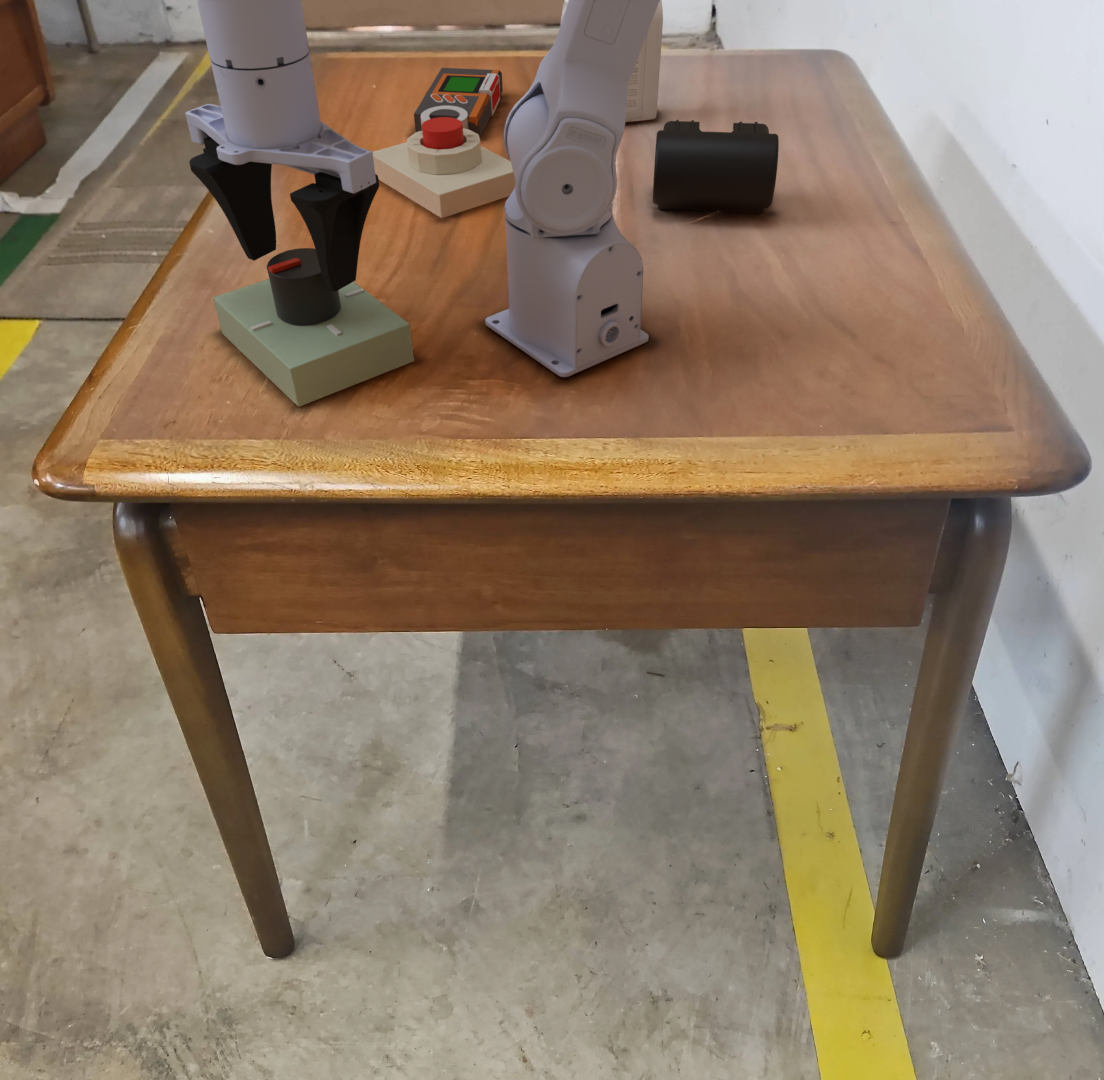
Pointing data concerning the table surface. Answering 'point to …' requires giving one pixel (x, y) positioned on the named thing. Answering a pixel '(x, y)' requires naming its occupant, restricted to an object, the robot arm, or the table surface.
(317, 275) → the dial
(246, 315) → the dial panel
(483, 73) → the electronic device
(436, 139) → the power button
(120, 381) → the table surface
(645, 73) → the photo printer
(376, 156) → the button box
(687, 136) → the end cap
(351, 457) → the table surface
